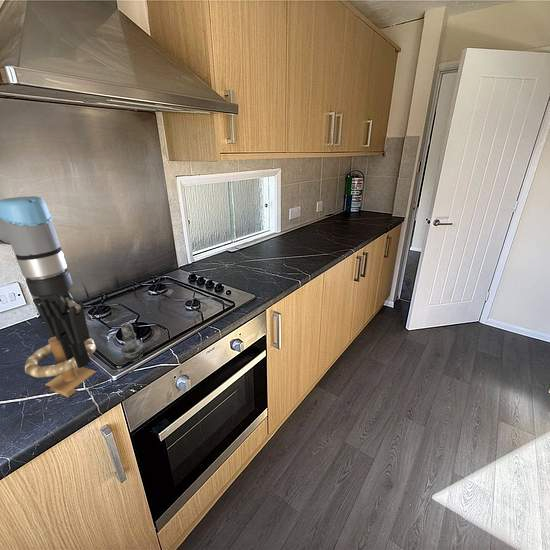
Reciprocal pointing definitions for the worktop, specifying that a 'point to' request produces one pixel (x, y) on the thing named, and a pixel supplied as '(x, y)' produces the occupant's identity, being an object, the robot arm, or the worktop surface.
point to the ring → (53, 370)
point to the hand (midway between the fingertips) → (79, 362)
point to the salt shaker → (131, 343)
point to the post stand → (66, 373)
